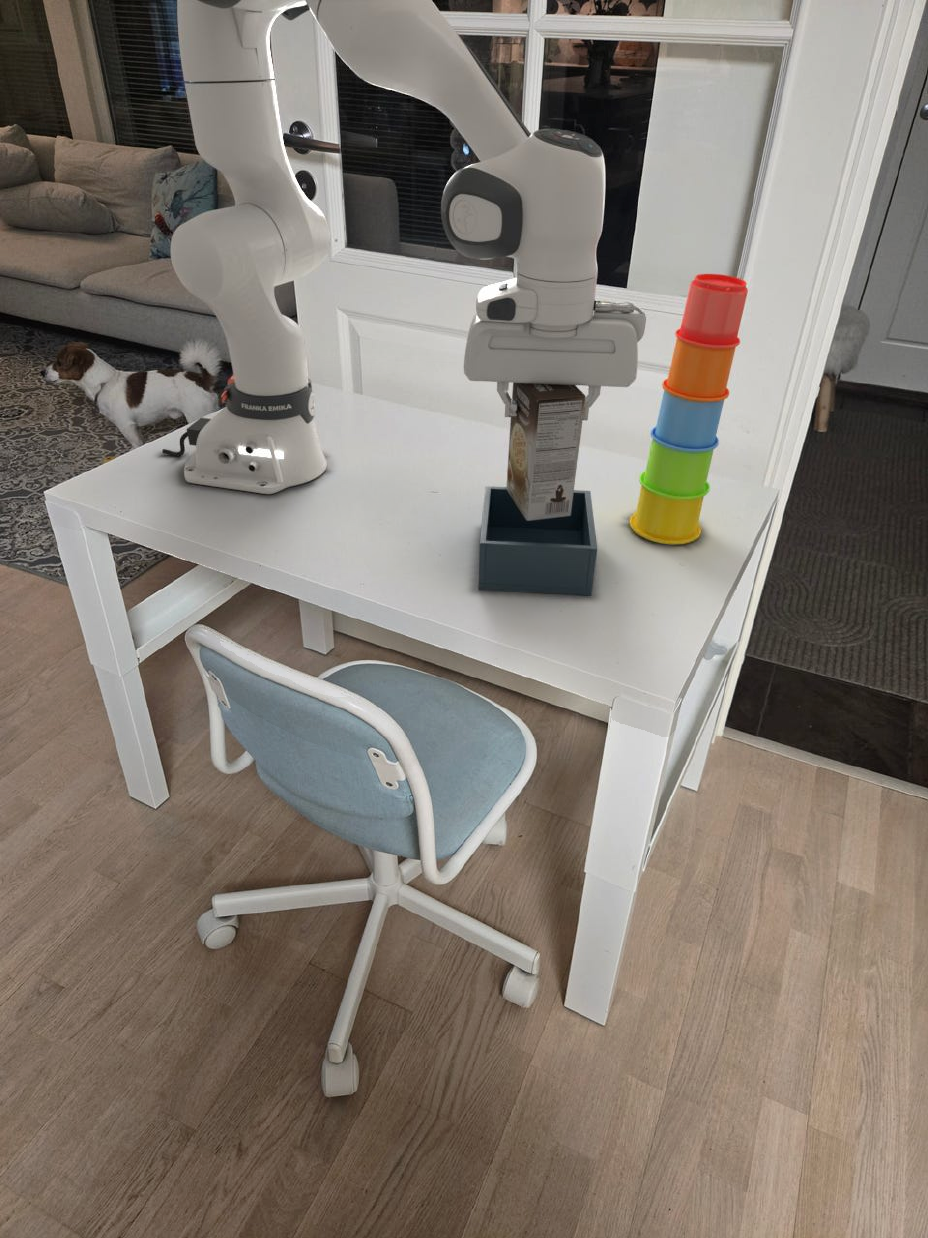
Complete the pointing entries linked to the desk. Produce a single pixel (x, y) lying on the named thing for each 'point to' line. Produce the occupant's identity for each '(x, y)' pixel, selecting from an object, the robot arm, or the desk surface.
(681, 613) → the desk surface
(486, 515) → the open square box
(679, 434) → the stacking cups
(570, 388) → the coffee box
